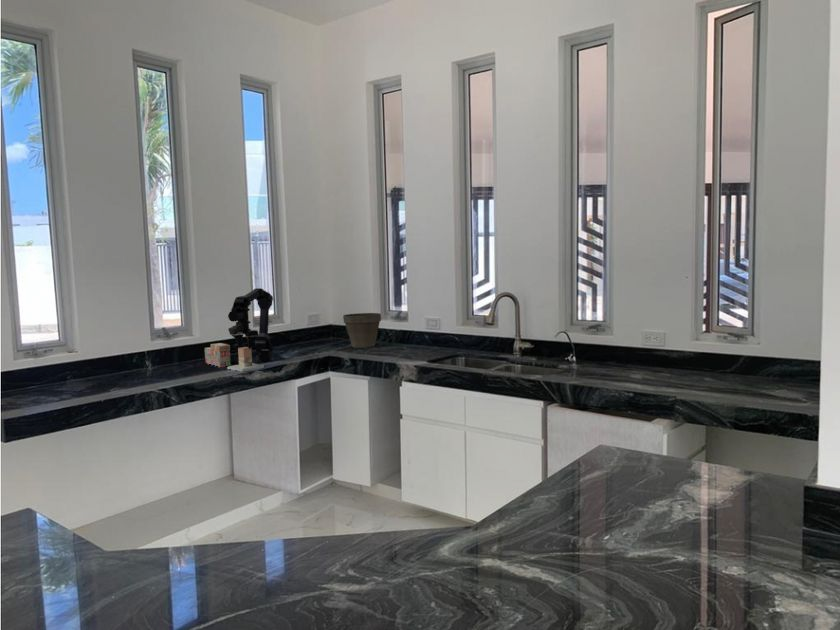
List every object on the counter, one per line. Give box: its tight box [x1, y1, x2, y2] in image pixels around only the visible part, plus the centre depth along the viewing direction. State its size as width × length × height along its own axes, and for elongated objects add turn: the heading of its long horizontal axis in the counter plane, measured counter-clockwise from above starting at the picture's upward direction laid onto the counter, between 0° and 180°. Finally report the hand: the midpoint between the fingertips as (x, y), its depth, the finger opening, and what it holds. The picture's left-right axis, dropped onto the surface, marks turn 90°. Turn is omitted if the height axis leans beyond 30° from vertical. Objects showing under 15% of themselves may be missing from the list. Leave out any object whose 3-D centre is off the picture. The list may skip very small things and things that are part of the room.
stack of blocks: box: [204, 342, 232, 368], centre depth 381 cm, size 21×6×12 cm, turn 40°
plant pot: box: [343, 312, 382, 349], centre depth 438 cm, size 25×25×22 cm
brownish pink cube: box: [237, 346, 253, 358], centre depth 364 cm, size 5×5×5 cm
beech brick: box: [238, 356, 253, 367], centre depth 365 cm, size 5×5×5 cm
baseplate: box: [226, 362, 265, 373], centre depth 365 cm, size 14×14×2 cm
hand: (244, 348), depth 364 cm, fingers open, 9 cm apart
